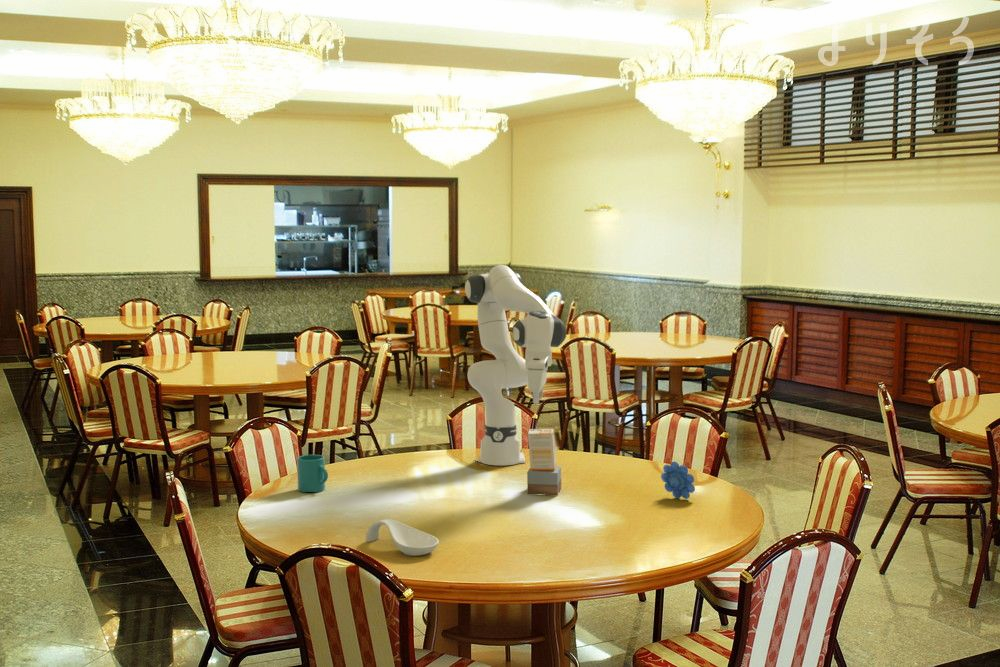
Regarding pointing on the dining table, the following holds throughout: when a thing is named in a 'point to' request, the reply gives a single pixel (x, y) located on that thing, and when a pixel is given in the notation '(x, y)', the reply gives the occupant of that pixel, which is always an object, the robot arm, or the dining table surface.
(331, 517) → the dining table surface
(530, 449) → the supplement box
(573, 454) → the dining table surface
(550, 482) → the tower top
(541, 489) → the tower bottom
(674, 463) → the blue flower-shaped disc
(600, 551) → the dining table surface
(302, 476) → the cup
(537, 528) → the dining table surface
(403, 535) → the spoon rest
